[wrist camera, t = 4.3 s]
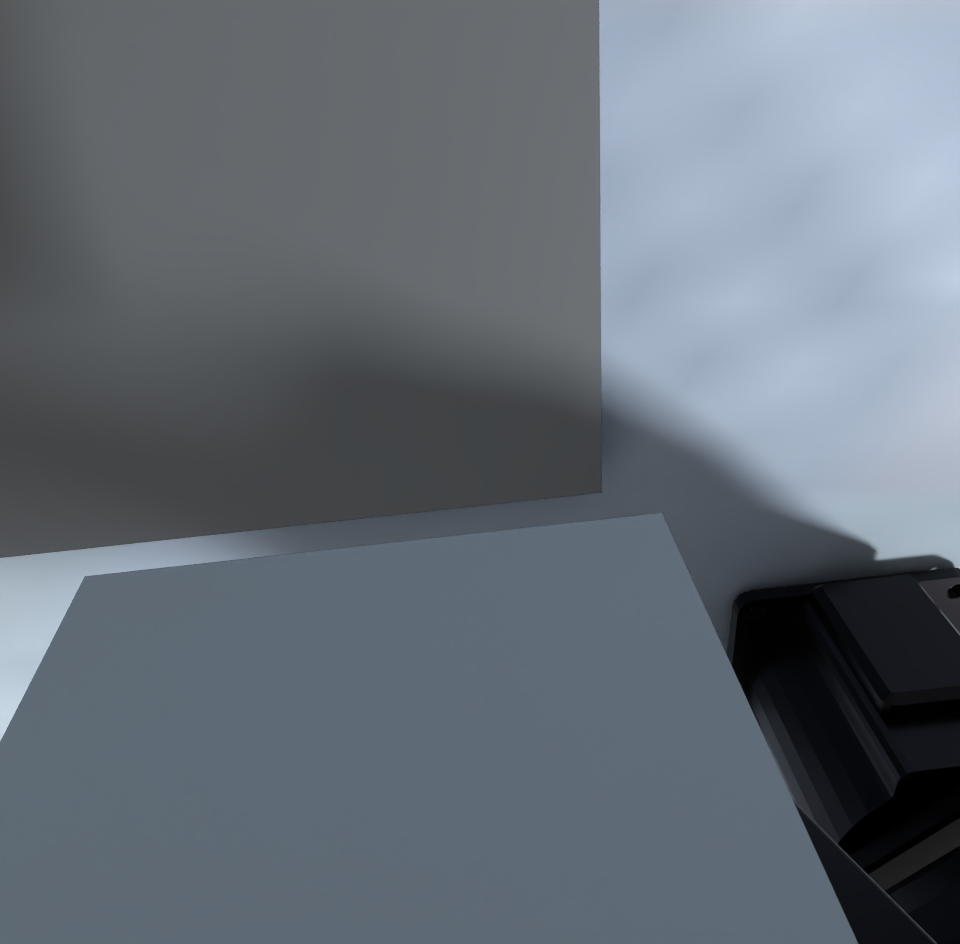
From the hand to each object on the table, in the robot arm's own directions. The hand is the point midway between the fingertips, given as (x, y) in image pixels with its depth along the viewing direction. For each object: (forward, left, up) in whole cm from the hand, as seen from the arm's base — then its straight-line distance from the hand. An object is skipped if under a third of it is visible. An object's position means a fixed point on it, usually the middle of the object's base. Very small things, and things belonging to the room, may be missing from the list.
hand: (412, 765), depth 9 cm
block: (0, 0, 0) cm, 0 cm away
